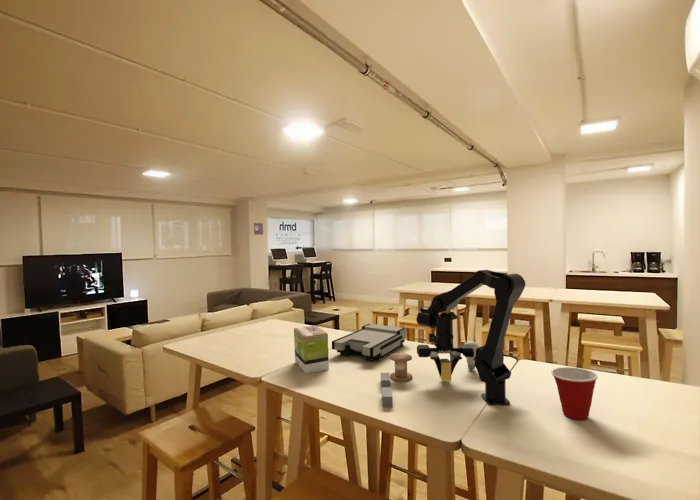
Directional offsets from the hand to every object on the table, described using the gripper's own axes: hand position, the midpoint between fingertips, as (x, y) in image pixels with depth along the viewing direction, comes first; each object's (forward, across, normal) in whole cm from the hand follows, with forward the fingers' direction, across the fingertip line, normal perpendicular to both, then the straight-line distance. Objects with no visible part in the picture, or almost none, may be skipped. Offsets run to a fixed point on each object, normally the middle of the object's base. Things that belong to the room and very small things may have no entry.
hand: (445, 375), depth 119 cm
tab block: (+1, 0, 0) cm, 1 cm away
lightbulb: (+2, -12, -11) cm, 16 cm away
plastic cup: (+2, -30, +23) cm, 38 cm away
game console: (+3, +26, -36) cm, 44 cm away
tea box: (+2, +50, -16) cm, 52 cm away
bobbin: (+2, +15, -4) cm, 16 cm away
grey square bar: (+2, +21, +9) cm, 23 cm away
